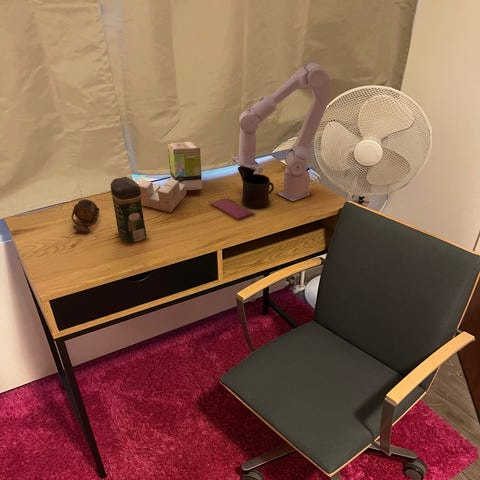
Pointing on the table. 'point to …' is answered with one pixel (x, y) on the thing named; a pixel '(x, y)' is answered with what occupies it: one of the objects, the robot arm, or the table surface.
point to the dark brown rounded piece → (85, 215)
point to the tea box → (185, 164)
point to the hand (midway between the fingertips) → (246, 186)
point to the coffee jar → (128, 209)
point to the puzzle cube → (162, 194)
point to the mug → (256, 191)
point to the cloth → (232, 209)
